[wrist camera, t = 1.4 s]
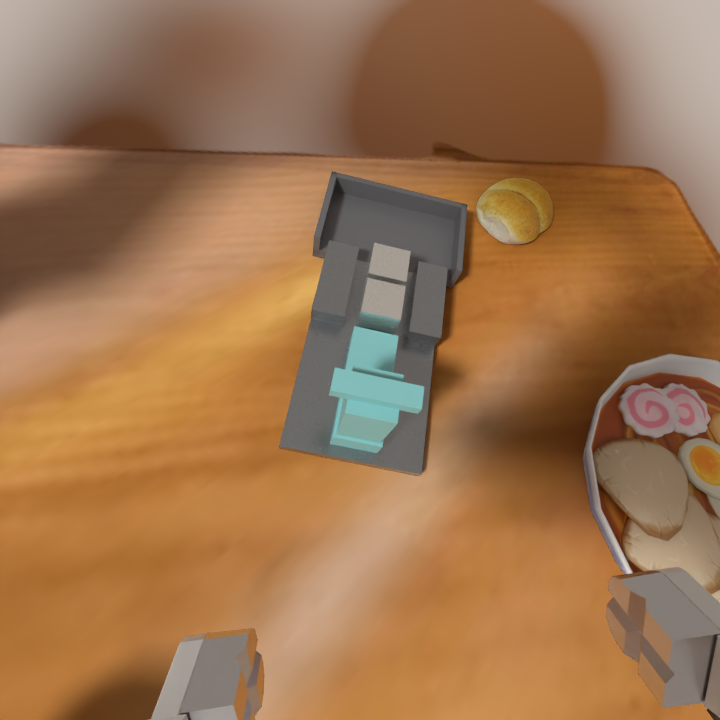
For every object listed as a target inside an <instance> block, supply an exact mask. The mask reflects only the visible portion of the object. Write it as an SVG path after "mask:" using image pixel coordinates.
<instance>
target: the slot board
mask: <svg viewBox="0 0 720 720" xmlns="http://www.w3.org/2000/svg"><path fill="white" fill-rule="evenodd" d="M358 251H359V247H357V246H352V245H348V244H344V243H340V242H335V241H331V240H329V243H328V247H327V251H326V255H325V259H324V263H323V267H322V271H321V275H320V279H319V283H318V287H317V290H316V294H315V298H314V302H313V306H312V312H311V322H310V326H309V330H308V333H307V337H306V341H305V345H304V349H303V353H302V357H301V361H300V365H299V369H298V373H297V377H296V381H295V385H294V389H293V393H292V397H291V401H290V405H289V409H288V413H287V417H286V421H285V425H284V429H283V433H282V437H281V441H280V445H279V448H280V449H284V450H289V451H294V452H299V453H304V454H309V455H314V456H319V457H325V458H330V459H335V460H340V461H345V462H350V463H355V464H360V465H365V466H370V467H375V468H380V469H385V470H390V471H395V472H400V473H405V474H410V475H415V476H419V475H421V474H422V465H423V455H424V446H425V436H426V426H427V416H428V406H429V396H430V386H431V376H432V366H433V356H434V347H435V346H436V345H437V343H438V342H439V341H440V339H441V335H442V325H443V314H444V303H445V293H446V282H447V271H448V268H446V267H442V266H437V265H433V264H429V263H425V262H420V261H418V264H417V266H416V268H415V270H414V272H413V273H411V272H408V274H407V281H406V284H405V286H406V288H405V295H404V302H403V309H402V316H401V321H400V323H399V325H398V327H397V329H396V331H395V333H394V335H397V336H398V343H397V350H396V357H395V364H394V371H393V373H397V374H402V375H404V379H403V382H406V383H410V384H415V385H420V386H424V395H423V404H422V410H421V411H420V412H419V413H418V414H416V413H411V412H406V411H402V410H399V417H398V424H397V425H396V426H395V427H394V428H393V429H392V431H391V432H390V433H389V434H388V435H387V436H386V437H385V438H384V441H383V447H382V448H381V449H380V450H379V451H378V452H377V453H373V452H368V451H363V450H358V449H353V448H348V447H343V446H338V445H333V444H330V440H331V435H332V430H333V425H334V420H335V415H336V410H337V405H338V400H339V397H335V396H330V395H329V392H330V388H331V383H332V378H333V373H334V369H335V368H340V369H345V365H346V360H347V355H348V350H349V345H350V340H351V336H352V333H353V329H354V326H356V323H357V318H358V313H359V308H360V303H361V299H362V293H363V288H364V283H365V277H366V272H367V268H368V264H369V263H368V262H364V261H360V260H357V256H358Z"/></svg>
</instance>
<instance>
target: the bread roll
mask: <svg viewBox="0 0 720 720" xmlns="http://www.w3.org/2000/svg"><path fill="white" fill-rule="evenodd" d="M476 213H477V218H478V220H479V222H480V224H481V225H482V226H483V227H484V228H485V229H486V230H487V232H488V233H489V234H490V235H492V236H493V237H494V238H496V239H497V240H499V241H500V242H502V243H505V244H525V243H528V242H531V241H533V240H535V239H536V238H537V236H538V235H539V233H541V232H543V231H544V230H546V229H547V228H548V227H549V226H550V225H551V223H552V220H553V215H554V207H553V202H552V200H551V198H550V195H549V194H548V192H547V191H546V190H545V189H544V188H543V187H542V186H541V185H540V184H538V183H536V182H535V181H533V180H530V179H526V178H508V179H504V180H501V181H499V182H497V183H495V184H493V185H492V186H491V187H489V188H488V189H487V190H486V191H485V192H484V193H483V194H482V196H481V197H480V198H479V200H478V203H477V207H476Z"/></svg>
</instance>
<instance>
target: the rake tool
mask: <svg viewBox="0 0 720 720" xmlns="http://www.w3.org/2000/svg"><path fill="white" fill-rule="evenodd" d="M397 343H398V336H397V335H392V334H388V333H383V332H379V331H374V330H370V329H365V328H361V327H356V326H354V329H353V333H352V336H351V340H350V345H349V350H348V355H347V360H346V365H345V369H340V368H335V369H334V373H333V378H332V383H331V388H330V392H329V395H330V396H335V397H339V400H338V405H337V410H336V415H335V420H334V425H333V430H332V435H331V440H330V444H333V445H338V446H343V447H348V448H353V449H358V450H363V451H368V452H373V453H377V452H378V451H379V450H380V449H381V448H382V447H383V441H384V438H385V437H386V436H387V435H388V434H389V433H390V432H391V431H392V429H393V428H394V427H395V426H396V425H397V424H398V417H399V410H402V411H406V412H411V413H416V414H418V413H419V412H420V411H421V410H422V404H423V395H424V386H420V385H415V384H410V383H406V382H403V379H404V375H402V374H397V373H393V371H394V364H395V357H396V350H397Z"/></svg>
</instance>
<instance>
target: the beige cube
mask: <svg viewBox="0 0 720 720" xmlns="http://www.w3.org/2000/svg"><path fill="white" fill-rule="evenodd" d="M405 288H406V286H402V285H398V284H393V283H389V282H385V281H380V280H376V279H372V278H367V281H366V285H365V288H364V292H363V295H362V299H361V303H360V308H359V313H358V318H357V323H356V327H361V328H365V329H370V330H374V331H379V332H383V333H388V334H392V335H394V333H395V331H396V329H397V327H398V325H399V323H400V321H401V316H402V309H403V302H404V295H405Z"/></svg>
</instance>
